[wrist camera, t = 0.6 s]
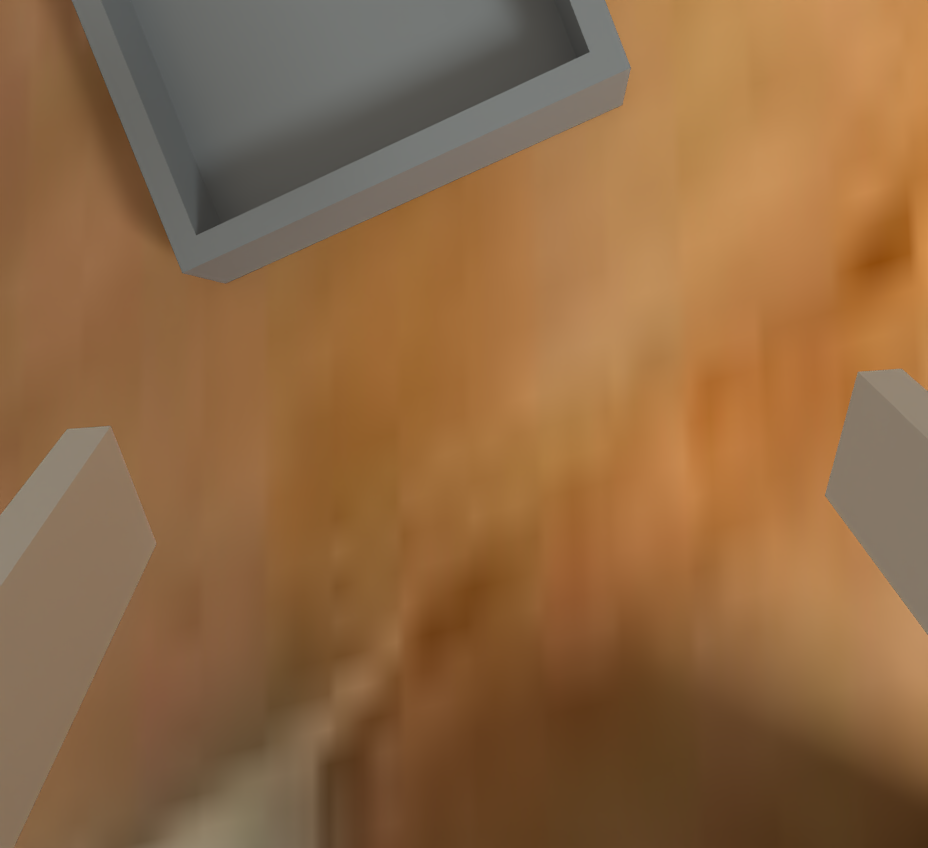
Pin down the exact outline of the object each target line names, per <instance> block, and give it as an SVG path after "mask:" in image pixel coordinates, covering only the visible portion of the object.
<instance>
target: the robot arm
mask: <svg viewBox="0 0 928 848" xmlns="http://www.w3.org/2000/svg"><path fill="white" fill-rule="evenodd" d="M825 496H826V498H827V499H828V500H829V502H830V503H831V504H832V506H833V507H834V508H835V510H836V511H837V513H838V514H839V515H840V517H841V518H842V519H843V521H844V522H845V523H846V525H847V526H848V527H849V529H850V530H851V531H852V533H853V534H854V536H855V537H856V538H857V540H858V541H859V542H860V544H861V545H862V546H863V548H864V549H865V550H866V552H867V553H868V555H869V556H870V557H871V559H872V560H873V561H874V563H875V564H876V565H877V567H878V568H879V569H880V571H881V572H882V573H883V575H884V576H885V578H886V579H887V580H888V582H889V583H890V584H891V586H892V587H893V588H894V590H895V591H896V592H897V594H898V595H899V597H900V598H901V599H902V601H903V602H904V603H905V605H906V606H907V607H908V609H909V610H910V611H911V613H912V614H913V615H914V617H915V618H916V620H917V621H918V622H919V624H920V625H921V626H922V628H923V629H924V630H925V632H926V633H927V634H928V391H927V390H925V389H924V388H923V387H922V386H921V385H920V384H919V383H917V382H916V381H915V380H914V379H913V378H912V377H910V376H909V375H908V374H907V373H906V372H905V371H904V370H902V369H892V370H878V371H864V372H858V374H857V377H856V381H855V385H854V389H853V392H852V396H851V400H850V404H849V407H848V411H847V415H846V419H845V422H844V426H843V430H842V434H841V437H840V441H839V445H838V449H837V452H836V456H835V460H834V464H833V467H832V471H831V475H830V479H829V482H828V486H827V490H826V494H825ZM155 546H156V541H155V539H154V536H153V533H152V531H151V528H150V526H149V523H148V520H147V518H146V515H145V513H144V510H143V508H142V505H141V502H140V500H139V497H138V495H137V492H136V490H135V487H134V484H133V482H132V479H131V477H130V474H129V471H128V469H127V466H126V464H125V461H124V459H123V456H122V453H121V451H120V448H119V446H118V443H117V441H116V438H115V435H114V433H113V430H112V428H111V426H102V427H89V428H75V429H67V430H66V431H65V433H64V434H63V435H62V436H61V438H60V439H59V440H58V442H57V443H56V444H55V445H54V447H53V448H52V449H51V451H50V452H49V453H48V454H47V456H46V457H45V458H44V460H43V461H42V462H41V463H40V465H39V466H38V467H37V469H36V470H35V471H34V472H33V474H32V475H31V476H30V478H29V479H28V480H27V481H26V483H25V484H24V485H23V487H22V488H21V489H20V491H19V492H18V493H17V494H16V496H15V497H14V498H13V500H12V501H11V502H10V503H9V505H8V506H7V507H6V509H5V510H4V511H3V512H2V514H1V515H0V848H14V846H15V844H16V842H17V840H18V837H19V835H20V833H21V831H22V829H23V827H24V825H25V823H26V820H27V818H28V816H29V814H30V812H31V810H32V808H33V806H34V803H35V801H36V799H37V797H38V795H39V793H40V791H41V789H42V786H43V784H44V782H45V780H46V778H47V776H48V774H49V771H50V769H51V767H52V765H53V763H54V761H55V759H56V757H57V754H58V752H59V750H60V748H61V746H62V744H63V742H64V740H65V737H66V735H67V733H68V731H69V729H70V727H71V725H72V723H73V720H74V718H75V716H76V714H77V712H78V710H79V708H80V706H81V703H82V701H83V699H84V697H85V695H86V693H87V691H88V689H89V686H90V684H91V682H92V680H93V678H94V676H95V674H96V672H97V669H98V667H99V665H100V663H101V661H102V659H103V657H104V655H105V652H106V650H107V648H108V646H109V644H110V642H111V640H112V638H113V635H114V633H115V631H116V629H117V627H118V625H119V623H120V621H121V618H122V616H123V614H124V612H125V610H126V608H127V606H128V603H129V601H130V599H131V597H132V595H133V593H134V591H135V589H136V586H137V584H138V582H139V580H140V578H141V576H142V574H143V572H144V569H145V567H146V565H147V563H148V561H149V559H150V557H151V555H152V552H153V550H154V548H155Z"/></svg>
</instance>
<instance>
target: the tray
mask: <svg viewBox="0 0 928 848" xmlns="http://www.w3.org/2000/svg"><path fill="white" fill-rule="evenodd" d="M72 2H73V5H74V7H75V9H76V12H77V14H78V17H79V19H80V22H81V24H82V27H83V29H84V32H85V34H86V37H87V39H88V41H89V44H90V46H91V49H92V51H93V54H94V56H95V59H96V61H97V64H98V66H99V69H100V71H101V74H102V76H103V78H104V81H105V83H106V86H107V88H108V91H109V93H110V96H111V98H112V101H113V103H114V106H115V108H116V110H117V113H118V115H119V118H120V120H121V123H122V125H123V128H124V130H125V133H126V135H127V138H128V140H129V142H130V145H131V147H132V150H133V152H134V155H135V157H136V160H137V162H138V165H139V167H140V170H141V172H142V175H143V177H144V179H145V182H146V184H147V187H148V189H149V192H150V194H151V197H152V199H153V202H154V204H155V207H156V209H157V211H158V214H159V216H160V219H161V221H162V224H163V226H164V229H165V231H166V234H167V236H168V239H169V241H170V244H171V246H172V248H173V251H174V253H175V256H176V258H177V261H178V263H179V266H180V268H181V271H182V273H184V274H188V275H193V276H197V277H201V278H205V279H209V280H213V281H217V282H222V283H228V282H230V281H232V280H235V279H237V278H239V277H241V276H243V275H246V274H248V273H250V272H252V271H255V270H257V269H259V268H261V267H263V266H266V265H268V264H270V263H272V262H275V261H277V260H279V259H281V258H283V257H286V256H288V255H290V254H292V253H295V252H297V251H299V250H301V249H303V248H306V247H308V246H310V245H312V244H315V243H317V242H319V241H321V240H323V239H326V238H328V237H330V236H332V235H334V234H337V233H339V232H341V231H343V230H346V229H348V228H350V227H352V226H354V225H357V224H359V223H361V222H363V221H366V220H368V219H370V218H372V217H374V216H377V215H379V214H381V213H383V212H386V211H388V210H390V209H392V208H394V207H397V206H399V205H401V204H403V203H406V202H408V201H410V200H412V199H414V198H417V197H419V196H421V195H423V194H425V193H428V192H430V191H432V190H434V189H437V188H439V187H441V186H443V185H445V184H448V183H450V182H452V181H454V180H457V179H459V178H461V177H463V176H465V175H468V174H470V173H472V172H474V171H477V170H479V169H481V168H483V167H485V166H488V165H490V164H492V163H494V162H497V161H499V160H501V159H503V158H505V157H508V156H510V155H512V154H514V153H516V152H519V151H521V150H523V149H525V148H528V147H530V146H532V145H534V144H536V143H539V142H541V141H543V140H545V139H548V138H550V137H552V136H554V135H556V134H559V133H561V132H563V131H565V130H568V129H570V128H572V127H574V126H576V125H579V124H581V123H583V122H585V121H588V120H590V119H592V118H594V117H596V116H599V115H601V114H603V113H605V112H608V111H610V110H612V109H614V108H616V107H619V106H621V105H622V104H623V99H624V95H625V91H626V86H627V82H628V78H629V73H630V69H631V67H630V64H629V62H628V59H627V57H626V54H625V51H624V49H623V46H622V44H621V41H620V38H619V36H618V33H617V31H616V28H615V26H614V23H613V20H612V18H611V15H610V13H609V10H608V7H607V5H606V2H605V0H72Z"/></svg>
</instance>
